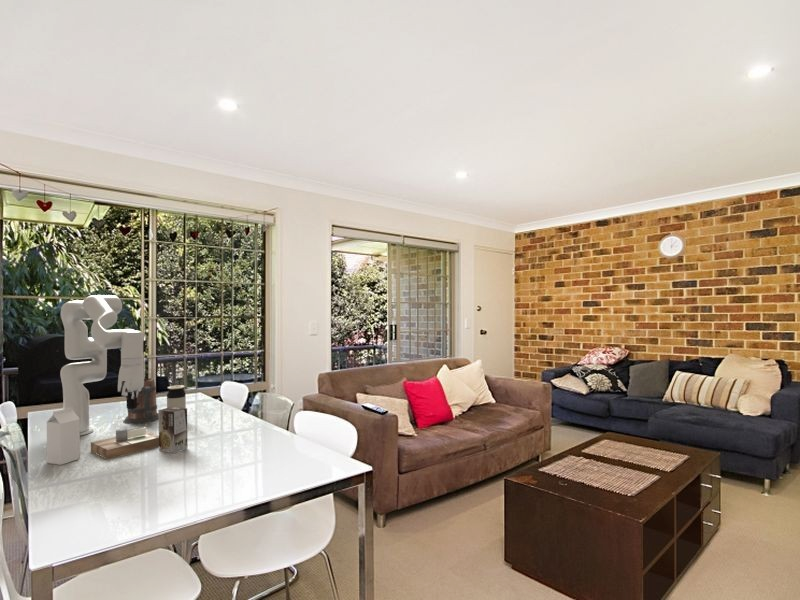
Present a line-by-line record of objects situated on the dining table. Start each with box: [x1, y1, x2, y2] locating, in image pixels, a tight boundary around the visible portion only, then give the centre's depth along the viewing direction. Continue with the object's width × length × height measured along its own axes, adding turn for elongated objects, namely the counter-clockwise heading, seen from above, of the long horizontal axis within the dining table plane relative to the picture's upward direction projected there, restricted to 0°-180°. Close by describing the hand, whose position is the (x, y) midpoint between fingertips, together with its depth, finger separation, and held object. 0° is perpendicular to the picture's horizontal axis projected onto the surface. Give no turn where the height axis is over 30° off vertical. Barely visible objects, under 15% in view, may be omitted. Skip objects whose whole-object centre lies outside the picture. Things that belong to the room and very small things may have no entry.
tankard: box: [122, 377, 159, 425], centre depth 227 cm, size 24×17×20 cm
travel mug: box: [166, 384, 187, 408], centre depth 220 cm, size 8×8×18 cm
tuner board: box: [90, 430, 159, 460], centre depth 184 cm, size 16×20×4 cm
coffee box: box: [157, 407, 189, 454], centre depth 181 cm, size 9×6×16 cm
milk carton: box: [46, 408, 81, 466], centre depth 169 cm, size 7×7×19 cm
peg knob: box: [115, 426, 147, 442], centre depth 184 cm, size 10×4×4 cm, turn 136°
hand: (131, 408), depth 182 cm, fingers closed
